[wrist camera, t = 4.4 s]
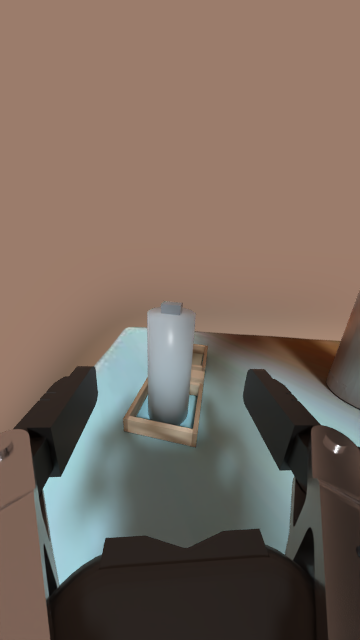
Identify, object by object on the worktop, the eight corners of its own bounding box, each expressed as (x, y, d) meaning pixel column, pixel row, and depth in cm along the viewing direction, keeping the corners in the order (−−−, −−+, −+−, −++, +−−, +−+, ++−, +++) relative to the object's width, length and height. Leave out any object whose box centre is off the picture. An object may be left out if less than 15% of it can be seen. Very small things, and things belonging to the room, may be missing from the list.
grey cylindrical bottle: (190, 400, 26) (198, 300, 21) (184, 431, 21) (193, 312, 16) (155, 393, 26) (156, 296, 22) (141, 422, 22) (139, 307, 17)
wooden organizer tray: (206, 353, 38) (207, 345, 37) (195, 447, 19) (197, 434, 19) (168, 348, 39) (169, 340, 39) (123, 431, 21) (123, 418, 20)
